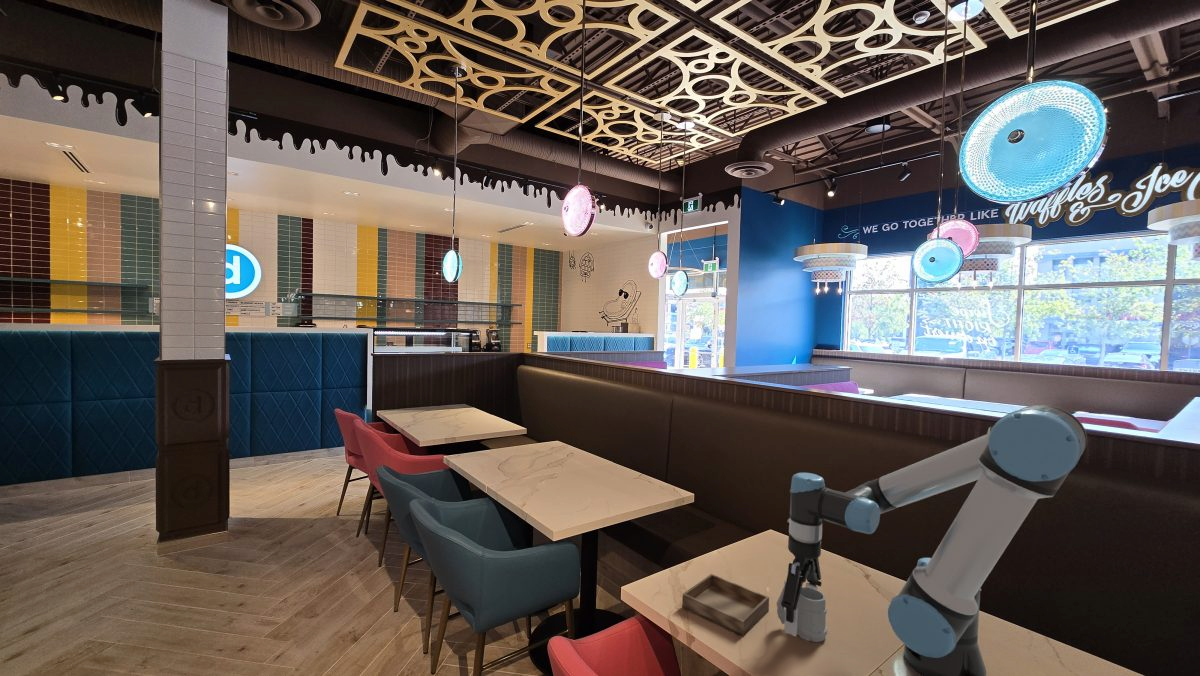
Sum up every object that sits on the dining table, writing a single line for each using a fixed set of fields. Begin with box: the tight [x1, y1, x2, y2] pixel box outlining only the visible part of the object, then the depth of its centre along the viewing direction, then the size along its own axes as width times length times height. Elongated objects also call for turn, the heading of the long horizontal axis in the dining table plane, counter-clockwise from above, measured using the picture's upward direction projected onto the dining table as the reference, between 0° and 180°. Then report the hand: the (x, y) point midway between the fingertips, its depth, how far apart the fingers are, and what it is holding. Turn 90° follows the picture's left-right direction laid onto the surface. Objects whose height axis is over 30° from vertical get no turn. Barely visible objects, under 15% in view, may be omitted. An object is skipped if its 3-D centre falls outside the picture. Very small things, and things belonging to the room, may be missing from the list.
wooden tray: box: [681, 573, 770, 638], centre depth 130 cm, size 17×15×4 cm
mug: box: [776, 579, 828, 643], centre depth 121 cm, size 8×12×12 cm, turn 73°
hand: (800, 621), depth 122 cm, fingers open, 13 cm apart
